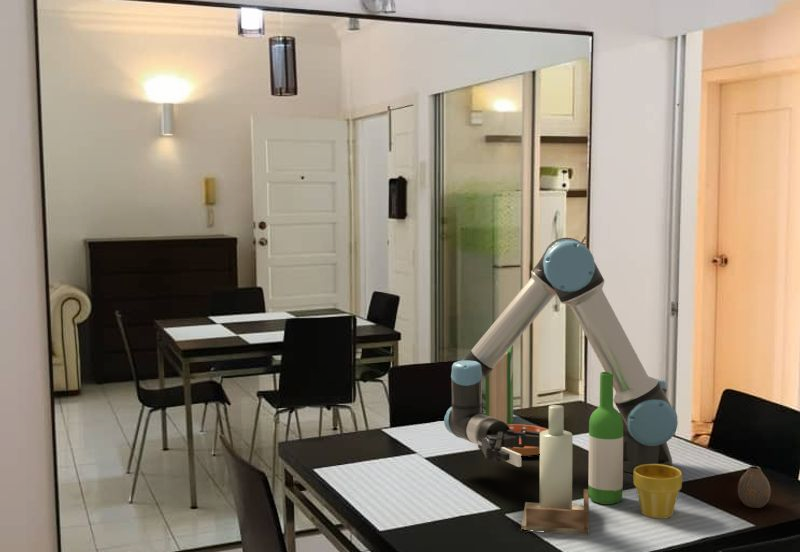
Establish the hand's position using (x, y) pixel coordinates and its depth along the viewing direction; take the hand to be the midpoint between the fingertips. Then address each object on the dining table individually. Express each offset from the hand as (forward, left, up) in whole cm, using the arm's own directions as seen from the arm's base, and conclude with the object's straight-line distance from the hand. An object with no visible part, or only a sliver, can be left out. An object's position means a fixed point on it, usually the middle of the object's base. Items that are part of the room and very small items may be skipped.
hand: (544, 455), depth 195 cm
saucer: (+10, -51, -14) cm, 54 cm away
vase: (-46, -14, -14) cm, 51 cm away
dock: (-2, +3, -14) cm, 14 cm away
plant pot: (-24, -5, -14) cm, 29 cm away
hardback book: (+17, -75, -14) cm, 78 cm away
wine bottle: (-13, -12, -14) cm, 23 cm away
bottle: (-2, +3, -12) cm, 13 cm away
